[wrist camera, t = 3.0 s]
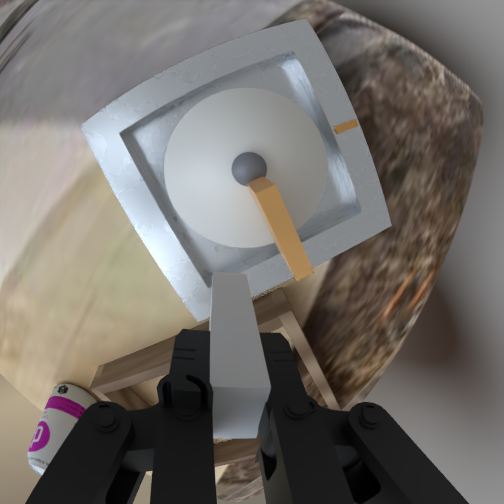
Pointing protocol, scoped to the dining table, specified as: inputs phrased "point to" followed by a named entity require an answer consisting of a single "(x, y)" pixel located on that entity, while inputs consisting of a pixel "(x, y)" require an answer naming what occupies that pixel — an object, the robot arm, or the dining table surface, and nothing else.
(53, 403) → the supplement can
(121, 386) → the book tray
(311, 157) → the dial
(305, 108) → the dial panel
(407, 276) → the dining table surface
